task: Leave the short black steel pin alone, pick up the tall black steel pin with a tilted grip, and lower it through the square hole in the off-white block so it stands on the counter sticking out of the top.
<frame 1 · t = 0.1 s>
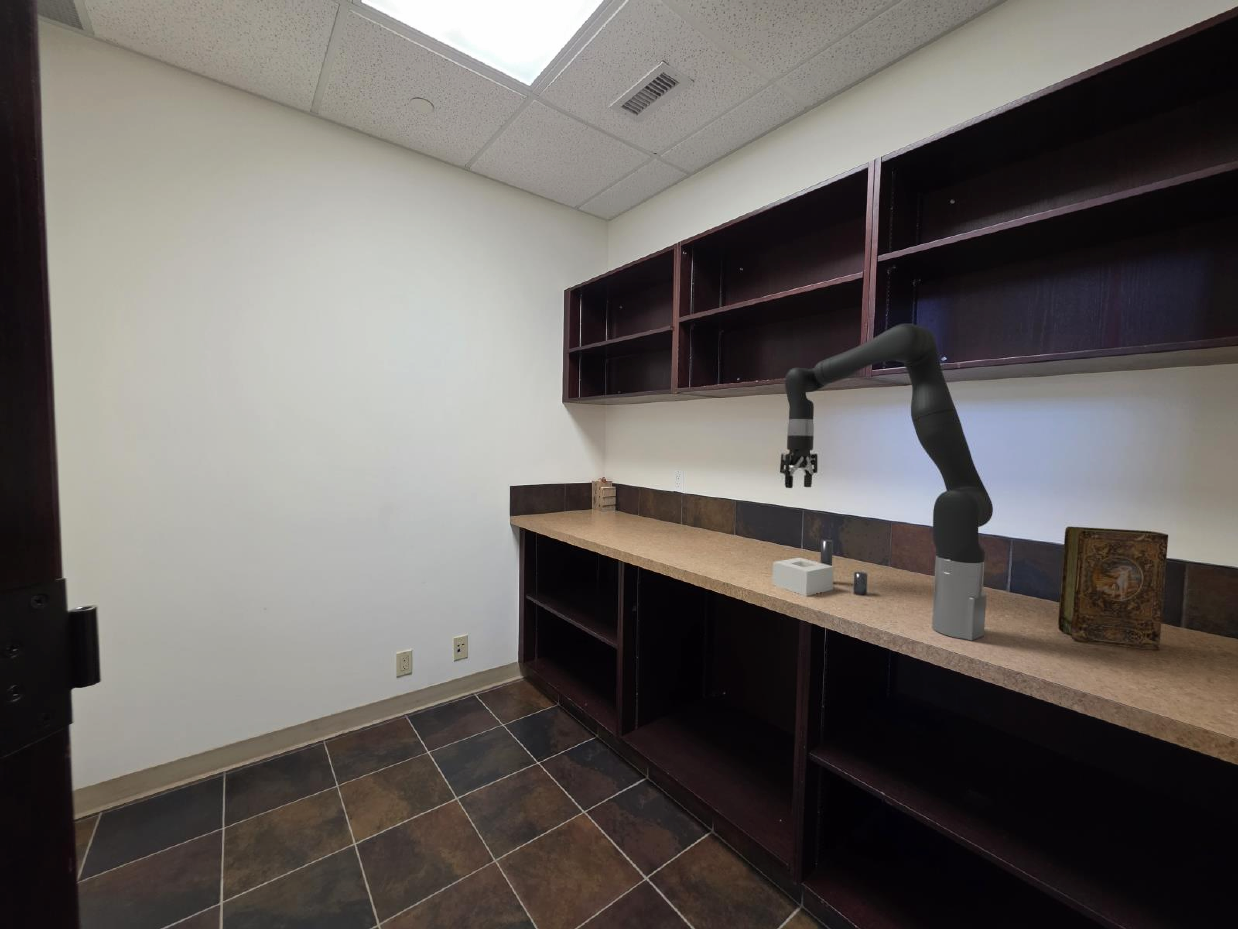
hand: (798, 487, 151), 29 cm above the table, tool pointing down, fingers open, 8 cm apart
book: (1108, 642, 111), on the table
short pin: (859, 593, 142), on the table
hole block: (802, 587, 147), on the table
long pin: (825, 582, 153), on the table
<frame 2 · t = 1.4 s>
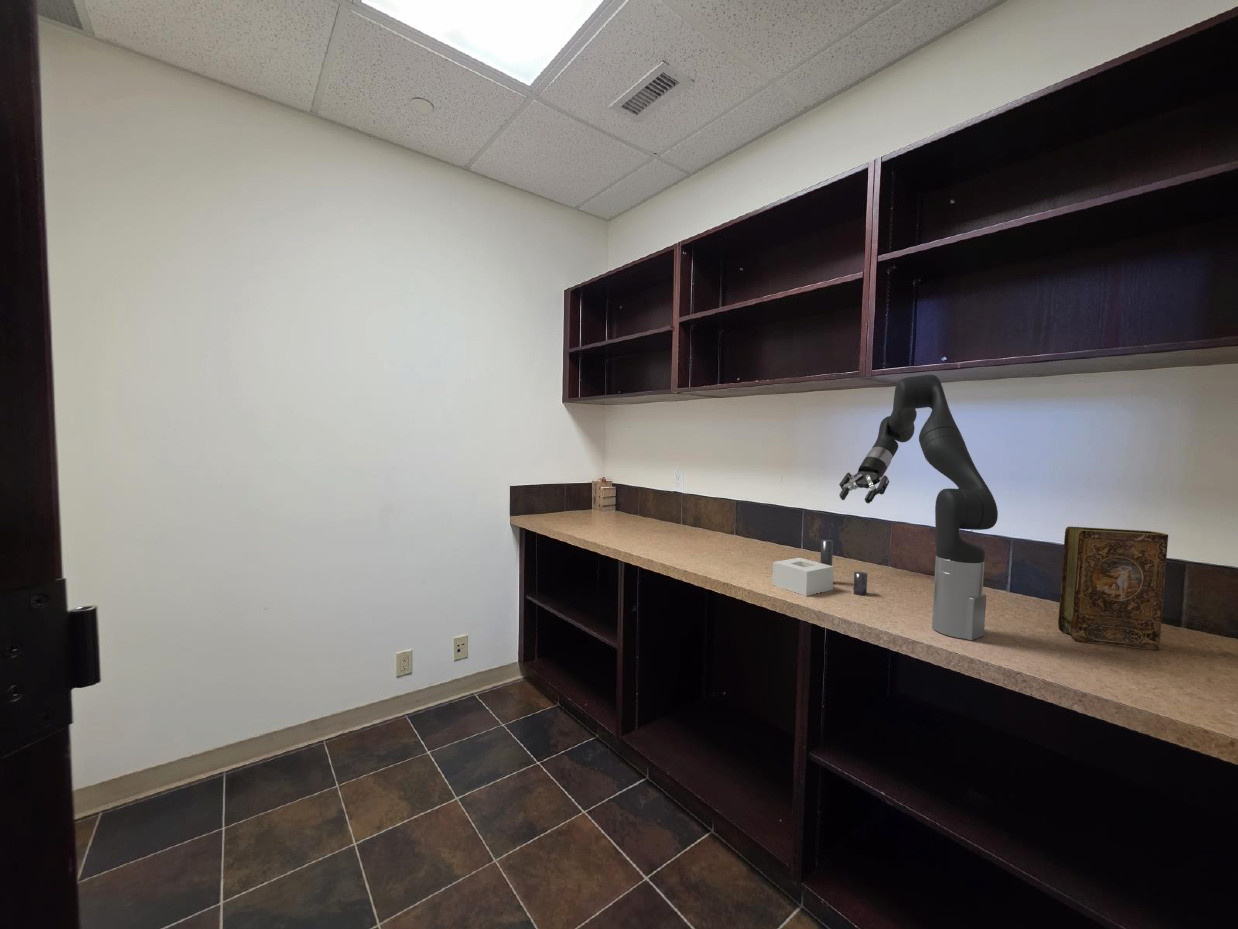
hand: (853, 500, 158), 25 cm above the table, tool tilted 45°, fingers open, 8 cm apart
nothing on the table moved.
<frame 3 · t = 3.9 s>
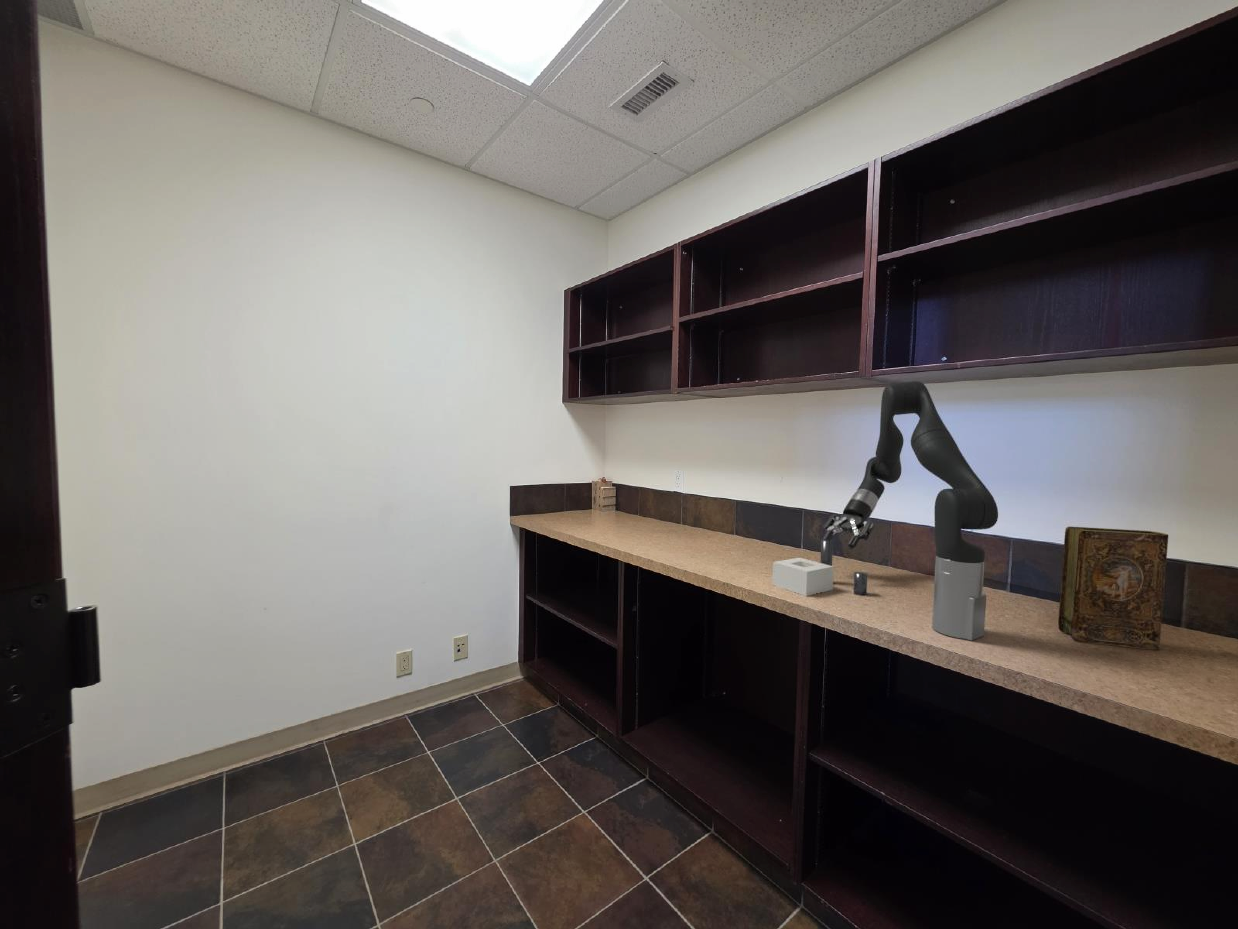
hand: (837, 544, 155), 11 cm above the table, tool tilted 45°, fingers open, 8 cm apart
nothing on the table moved.
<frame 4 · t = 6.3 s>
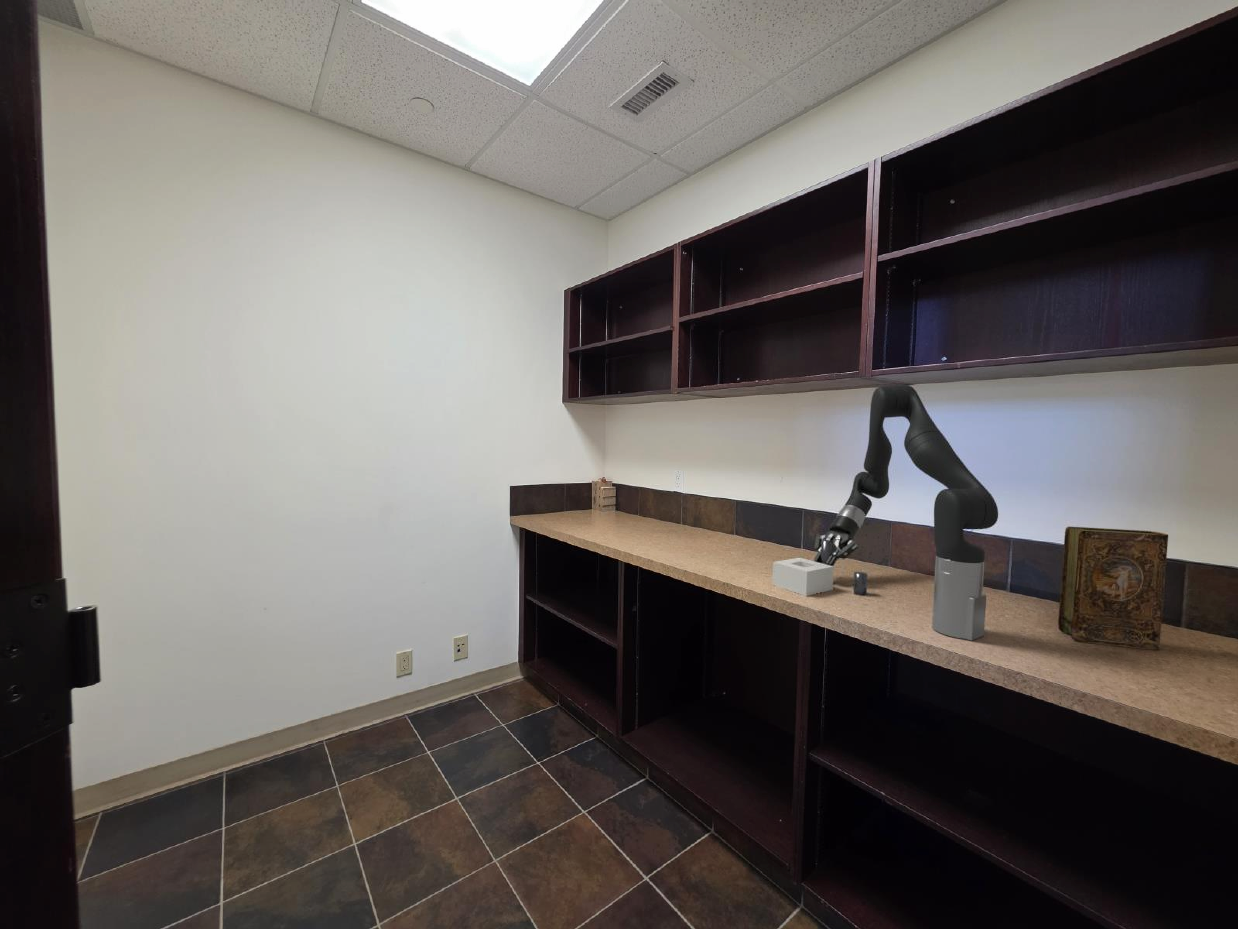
hand: (822, 564, 151), 6 cm above the table, tool tilted 45°, fingers closed on long pin, 3 cm apart
long pin: (825, 582, 153), on the table, touching gripper
everything else where it was.
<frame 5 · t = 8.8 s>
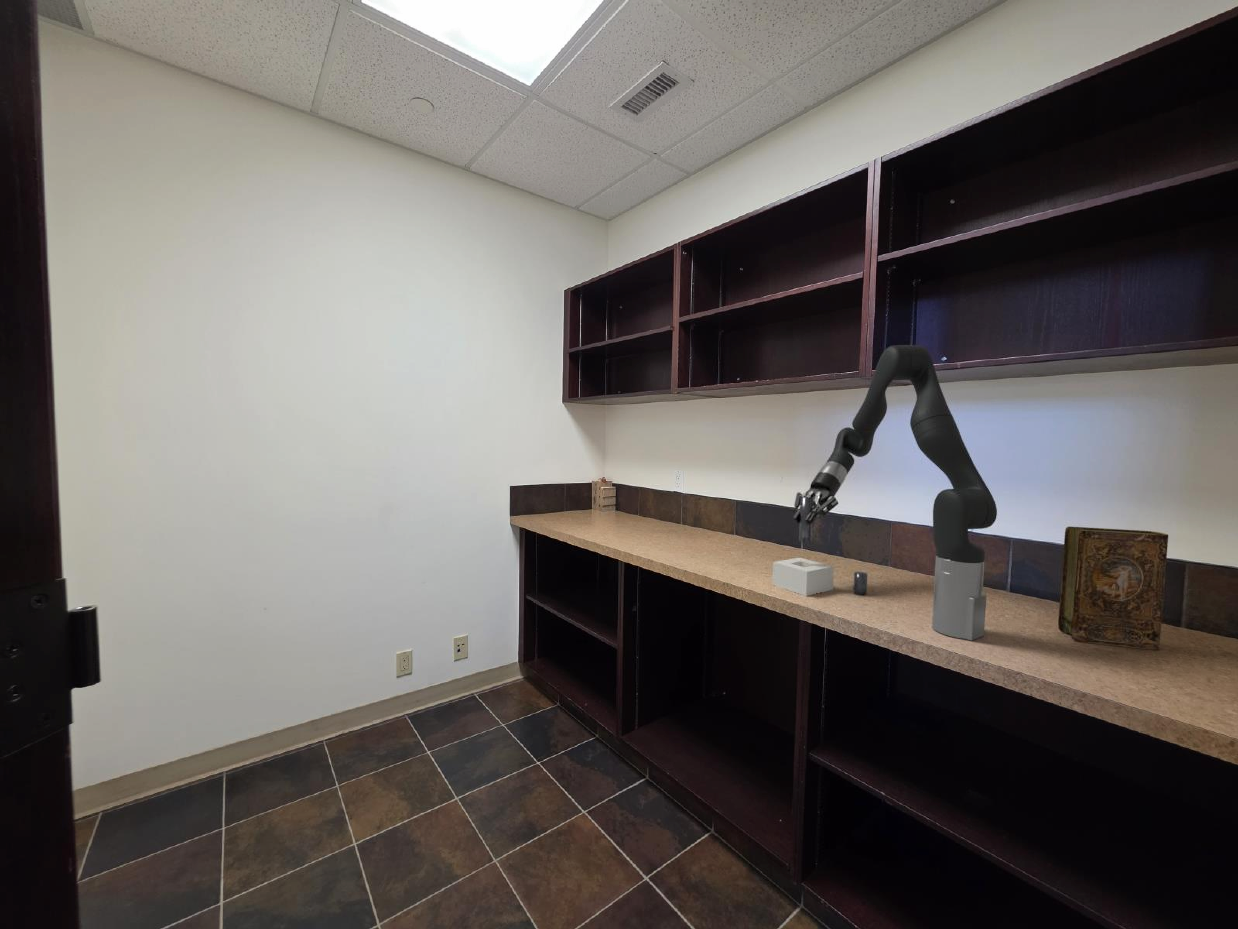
hand: (801, 521, 145), 20 cm above the table, tool tilted 45°, fingers closed on long pin, 3 cm apart
long pin: (805, 540, 146), point 14 cm above the table, touching gripper
everything else where it was.
when the fingers open (11 cm above the table, at t = 11.6 s): long pin drops 5 cm, resting in hole block.
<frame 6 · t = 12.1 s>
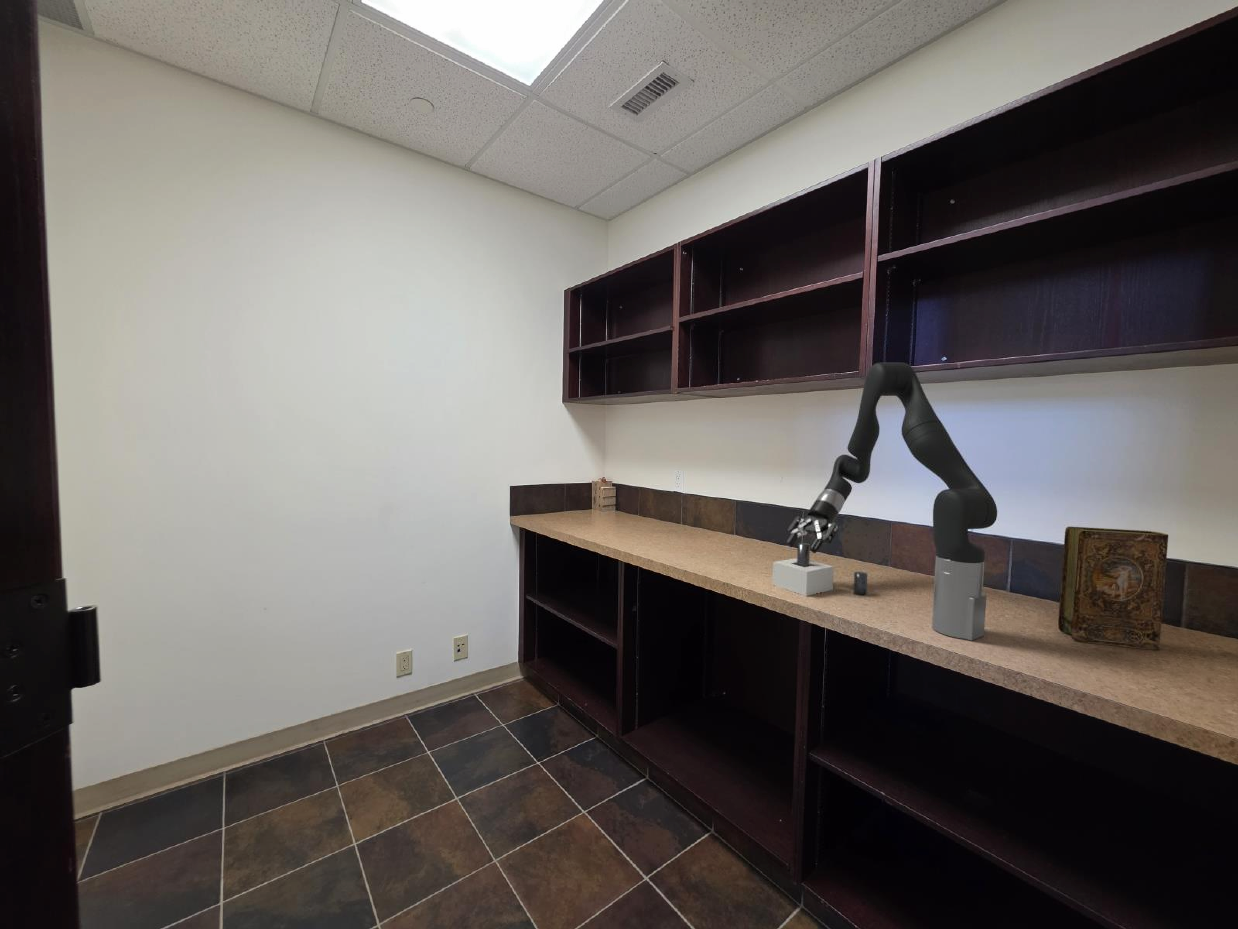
hand: (800, 548, 146), 12 cm above the table, tool tilted 45°, fingers open, 8 cm apart
long pin: (802, 587, 147), resting in hole block
everything else where it was.
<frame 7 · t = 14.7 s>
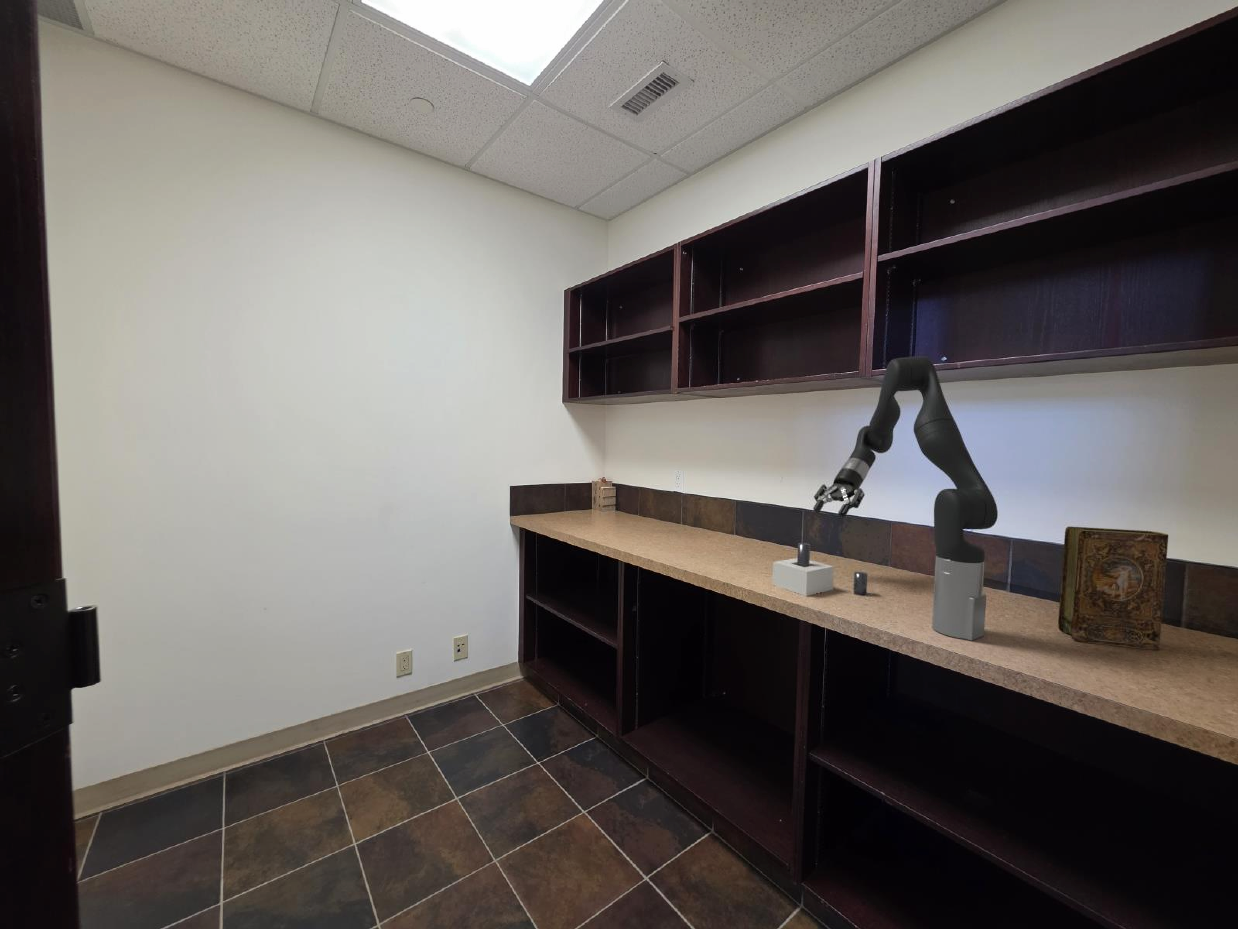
hand: (827, 513, 151), 21 cm above the table, tool tilted 45°, fingers open, 8 cm apart
nothing on the table moved.
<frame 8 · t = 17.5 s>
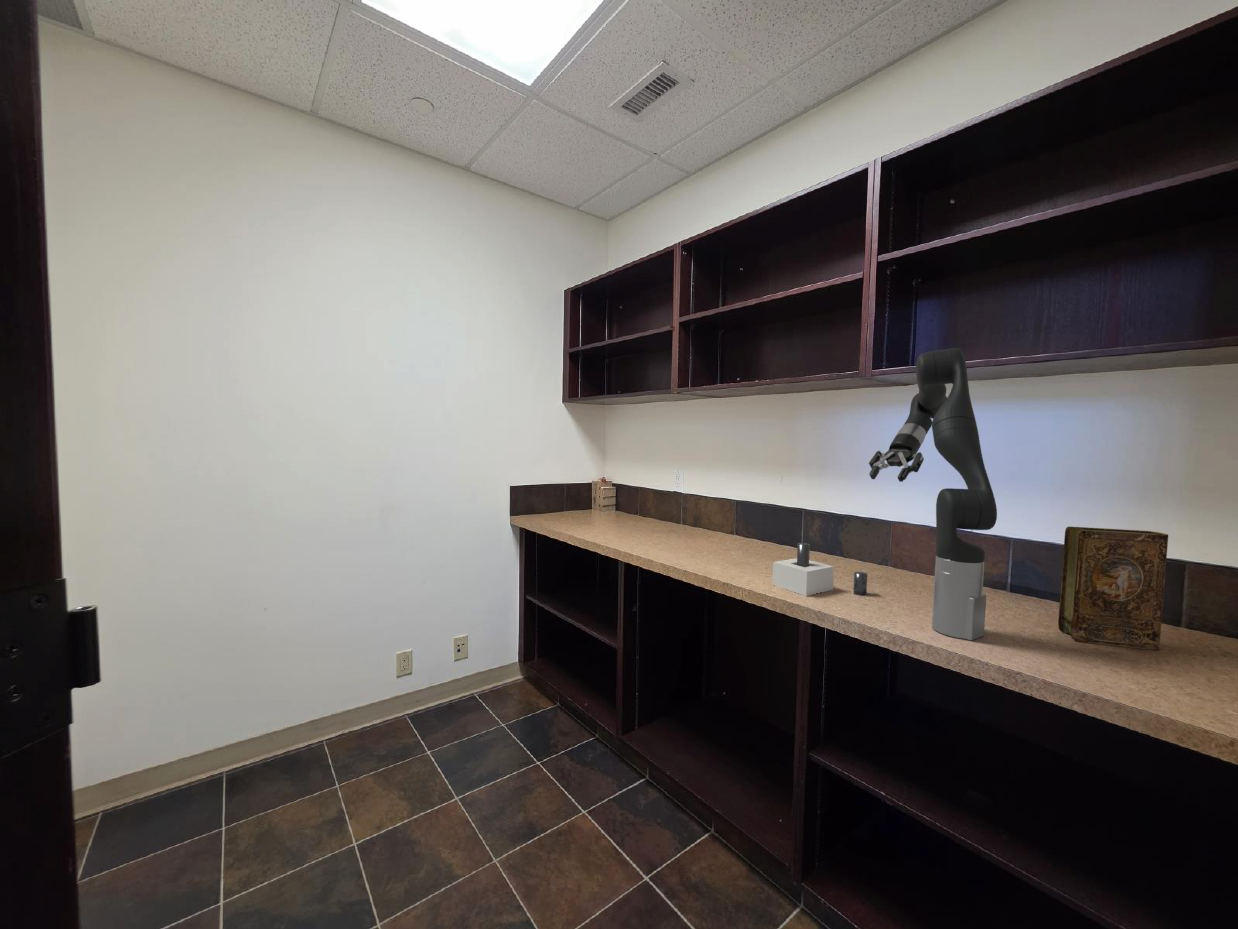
hand: (885, 478, 149), 33 cm above the table, tool tilted 45°, fingers open, 8 cm apart
nothing on the table moved.
at the end: long pin 0.1 cm off-centre on the hole block, point 0.0 cm above the hole block's base; long pin tilted 0°; short pin moved 0.0 cm from its start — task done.
